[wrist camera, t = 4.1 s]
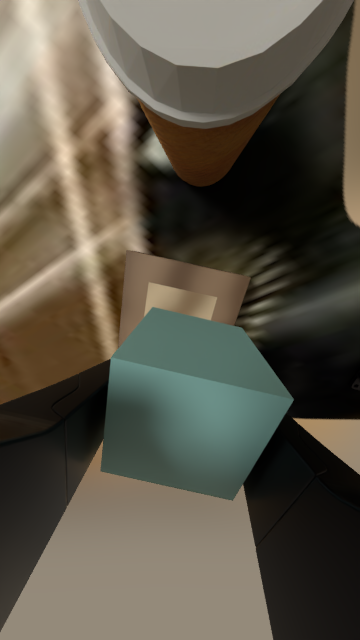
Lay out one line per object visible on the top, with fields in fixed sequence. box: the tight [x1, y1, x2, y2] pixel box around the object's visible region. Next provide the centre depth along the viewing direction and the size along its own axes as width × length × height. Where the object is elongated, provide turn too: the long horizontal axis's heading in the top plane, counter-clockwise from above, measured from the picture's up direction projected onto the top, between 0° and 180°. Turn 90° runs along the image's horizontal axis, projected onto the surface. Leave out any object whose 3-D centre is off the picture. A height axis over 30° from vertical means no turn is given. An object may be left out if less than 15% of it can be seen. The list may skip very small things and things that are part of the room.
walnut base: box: [118, 250, 251, 348], centre depth 19 cm, size 12×12×2 cm
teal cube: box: [101, 307, 294, 500], centre depth 8 cm, size 5×5×5 cm
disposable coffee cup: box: [78, 0, 353, 187], centre depth 9 cm, size 10×10×12 cm
